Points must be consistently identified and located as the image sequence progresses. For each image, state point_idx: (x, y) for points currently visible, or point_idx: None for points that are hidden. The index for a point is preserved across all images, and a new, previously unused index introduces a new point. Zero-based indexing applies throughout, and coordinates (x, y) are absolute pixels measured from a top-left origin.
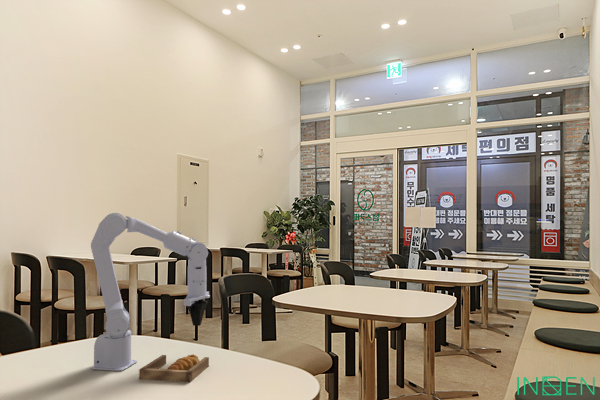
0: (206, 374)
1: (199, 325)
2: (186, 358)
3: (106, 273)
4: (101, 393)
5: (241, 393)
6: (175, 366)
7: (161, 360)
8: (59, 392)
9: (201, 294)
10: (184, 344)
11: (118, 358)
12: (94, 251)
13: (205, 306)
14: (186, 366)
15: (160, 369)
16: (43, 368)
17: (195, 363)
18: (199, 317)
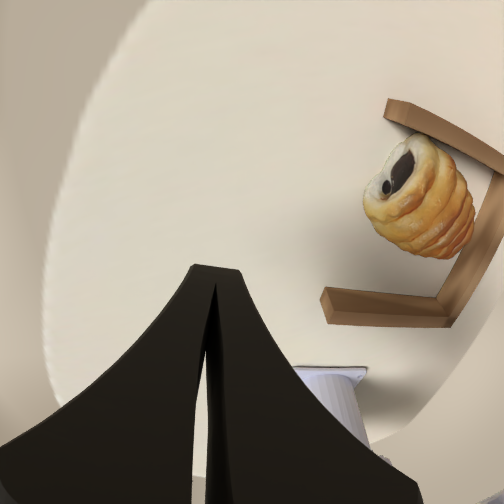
0: (467, 108)
1: (230, 269)
2: (450, 211)
3: None
4: (473, 337)
5: None
6: (469, 235)
7: (365, 306)
8: (432, 390)
9: None
10: (66, 285)
11: (357, 402)
12: None
13: (97, 439)
14: (470, 195)
15: (478, 273)
16: None
17: (454, 162)
18: (266, 337)
